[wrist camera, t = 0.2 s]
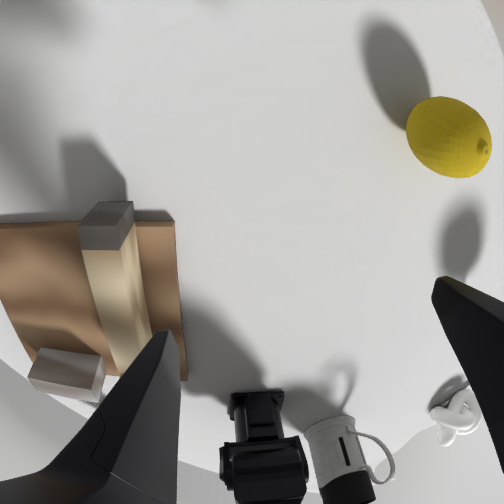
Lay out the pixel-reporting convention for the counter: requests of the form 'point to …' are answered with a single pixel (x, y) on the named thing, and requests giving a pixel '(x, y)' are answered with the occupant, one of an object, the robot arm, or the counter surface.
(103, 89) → the counter surface
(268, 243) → the counter surface
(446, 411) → the white rounded piece
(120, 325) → the leg
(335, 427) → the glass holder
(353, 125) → the counter surface
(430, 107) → the lemon
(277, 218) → the counter surface
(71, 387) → the seat
